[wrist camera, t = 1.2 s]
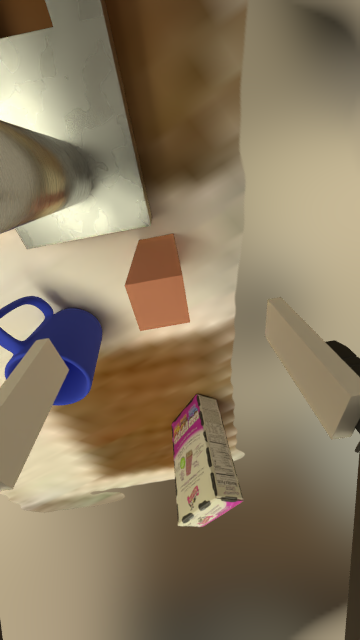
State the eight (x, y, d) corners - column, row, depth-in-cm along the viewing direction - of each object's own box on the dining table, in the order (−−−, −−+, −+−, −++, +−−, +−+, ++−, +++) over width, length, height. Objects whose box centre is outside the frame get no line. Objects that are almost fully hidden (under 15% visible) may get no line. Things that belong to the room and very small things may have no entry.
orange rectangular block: (138, 240, 25) (124, 285, 15) (173, 233, 25) (182, 274, 15) (147, 272, 27) (140, 331, 17) (179, 266, 27) (190, 322, 17)
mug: (55, 264, 26) (6, 307, 17) (120, 332, 32) (107, 388, 24) (7, 296, 27) (-58, 350, 19) (78, 355, 34) (51, 414, 25)
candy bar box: (191, 427, 48) (203, 528, 34) (171, 423, 46) (175, 526, 33) (218, 398, 43) (245, 503, 29) (196, 392, 41) (214, 500, 28)
